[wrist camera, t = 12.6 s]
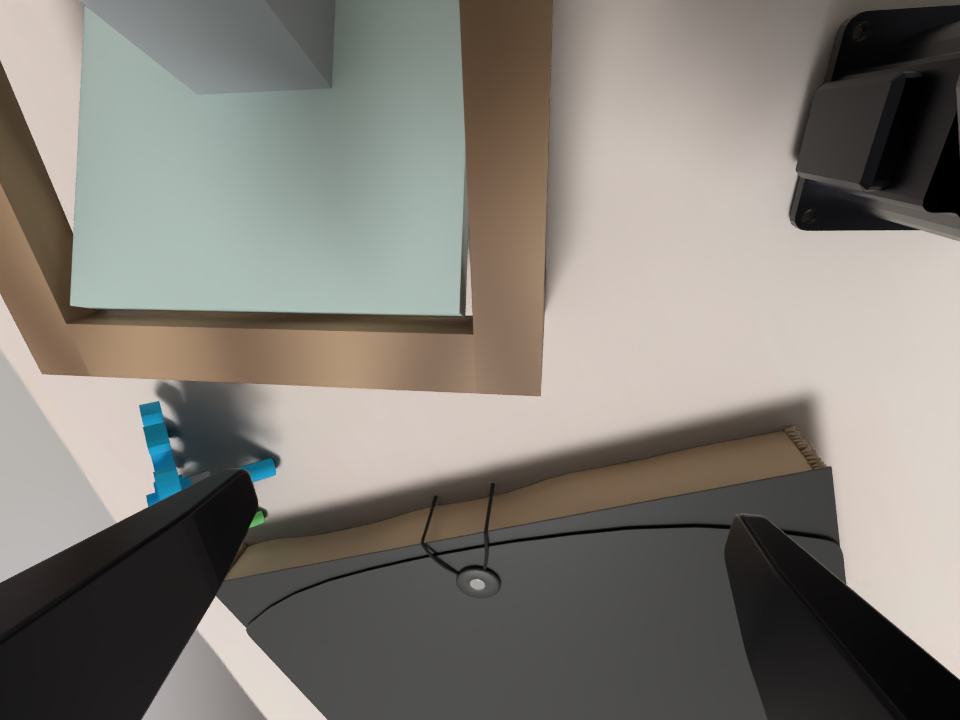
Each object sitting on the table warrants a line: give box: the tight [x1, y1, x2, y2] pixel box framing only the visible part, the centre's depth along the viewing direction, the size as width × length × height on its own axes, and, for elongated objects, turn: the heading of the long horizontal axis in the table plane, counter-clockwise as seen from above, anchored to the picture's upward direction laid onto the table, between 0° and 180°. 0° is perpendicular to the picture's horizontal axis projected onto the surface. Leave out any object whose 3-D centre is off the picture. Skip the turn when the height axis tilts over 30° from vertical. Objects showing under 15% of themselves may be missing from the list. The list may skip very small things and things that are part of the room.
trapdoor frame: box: [0, 0, 553, 396], centre depth 15 cm, size 18×18×7 cm
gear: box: [139, 401, 276, 528], centre depth 25 cm, size 11×6×10 cm
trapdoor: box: [70, 0, 469, 317], centre depth 15 cm, size 13×13×1 cm
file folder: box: [216, 426, 846, 720], centre depth 29 cm, size 33×4×24 cm
